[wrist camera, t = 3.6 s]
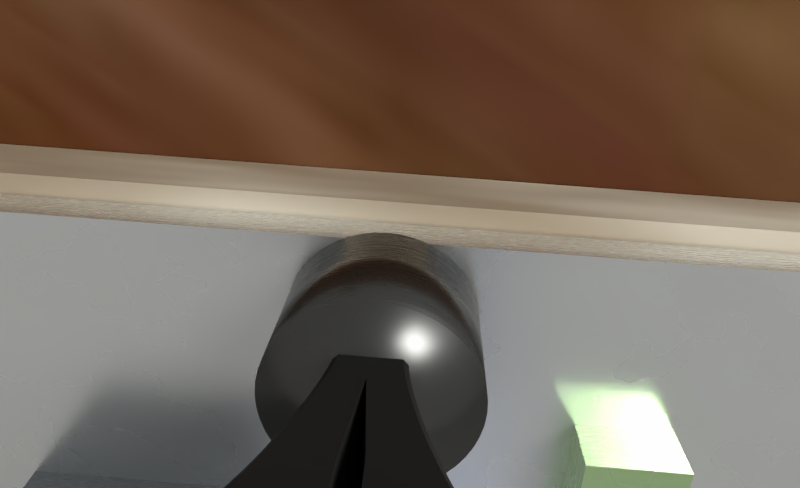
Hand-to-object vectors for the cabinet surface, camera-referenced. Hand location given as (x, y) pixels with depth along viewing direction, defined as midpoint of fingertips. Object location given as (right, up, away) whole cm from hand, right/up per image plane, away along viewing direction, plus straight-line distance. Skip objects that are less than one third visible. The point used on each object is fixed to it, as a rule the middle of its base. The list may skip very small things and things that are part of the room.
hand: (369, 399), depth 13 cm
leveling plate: (0, -3, +6) cm, 6 cm away
